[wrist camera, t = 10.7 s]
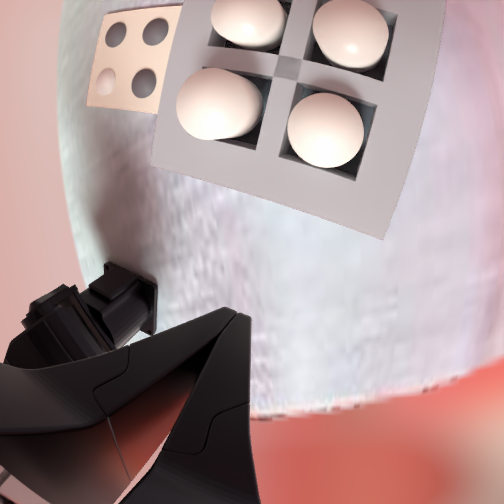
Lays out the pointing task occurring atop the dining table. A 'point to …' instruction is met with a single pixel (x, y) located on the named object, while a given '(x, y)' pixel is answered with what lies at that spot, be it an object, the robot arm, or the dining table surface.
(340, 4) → the button
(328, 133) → the button
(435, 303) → the dining table surface
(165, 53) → the card
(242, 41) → the button
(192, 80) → the button
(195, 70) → the board
